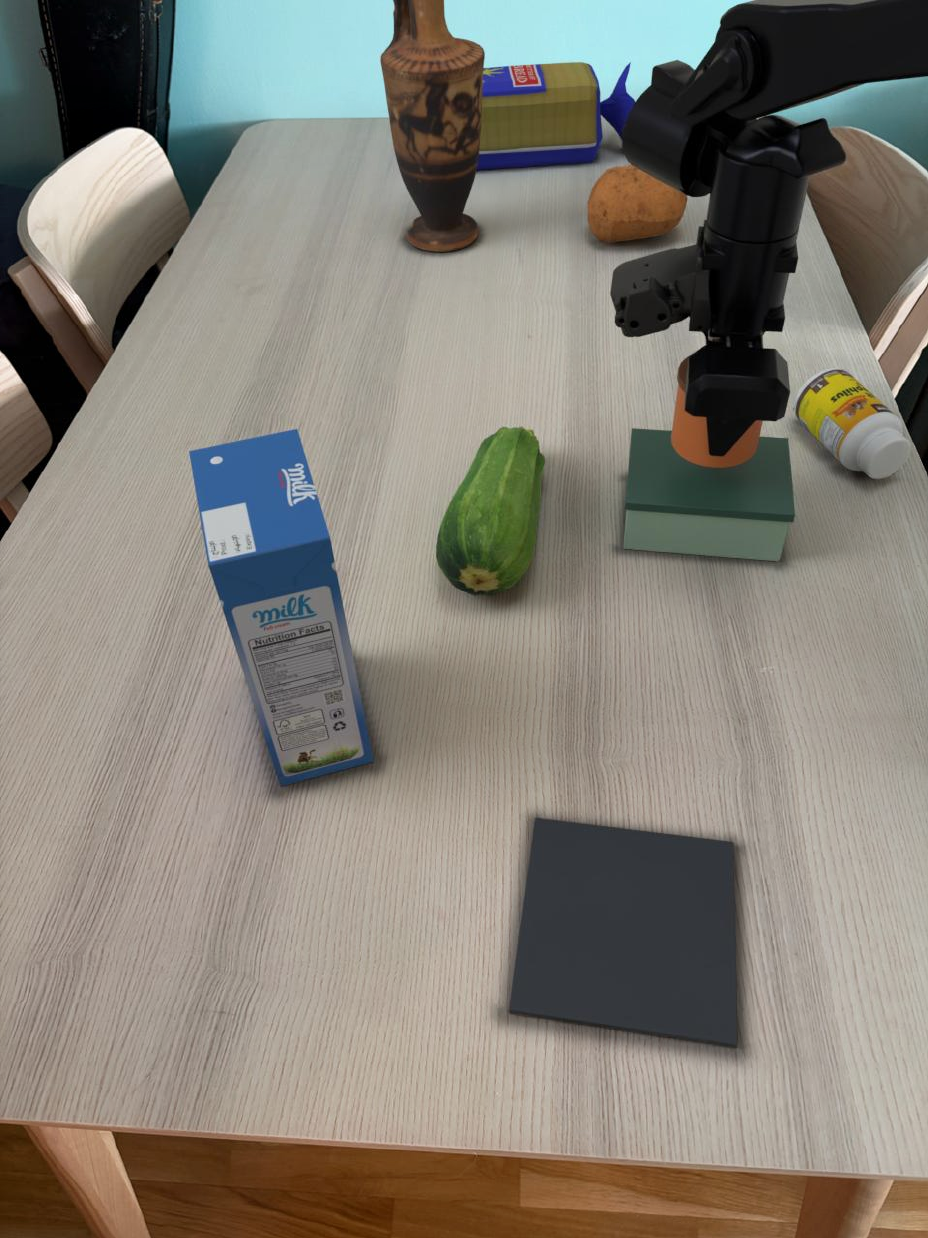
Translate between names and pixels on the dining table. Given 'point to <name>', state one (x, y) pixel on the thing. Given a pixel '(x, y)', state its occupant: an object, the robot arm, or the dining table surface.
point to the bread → (546, 114)
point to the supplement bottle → (852, 423)
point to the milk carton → (282, 602)
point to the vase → (434, 120)
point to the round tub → (693, 434)
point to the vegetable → (493, 515)
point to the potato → (632, 206)
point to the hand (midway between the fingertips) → (716, 426)
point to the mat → (629, 932)
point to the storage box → (707, 501)
